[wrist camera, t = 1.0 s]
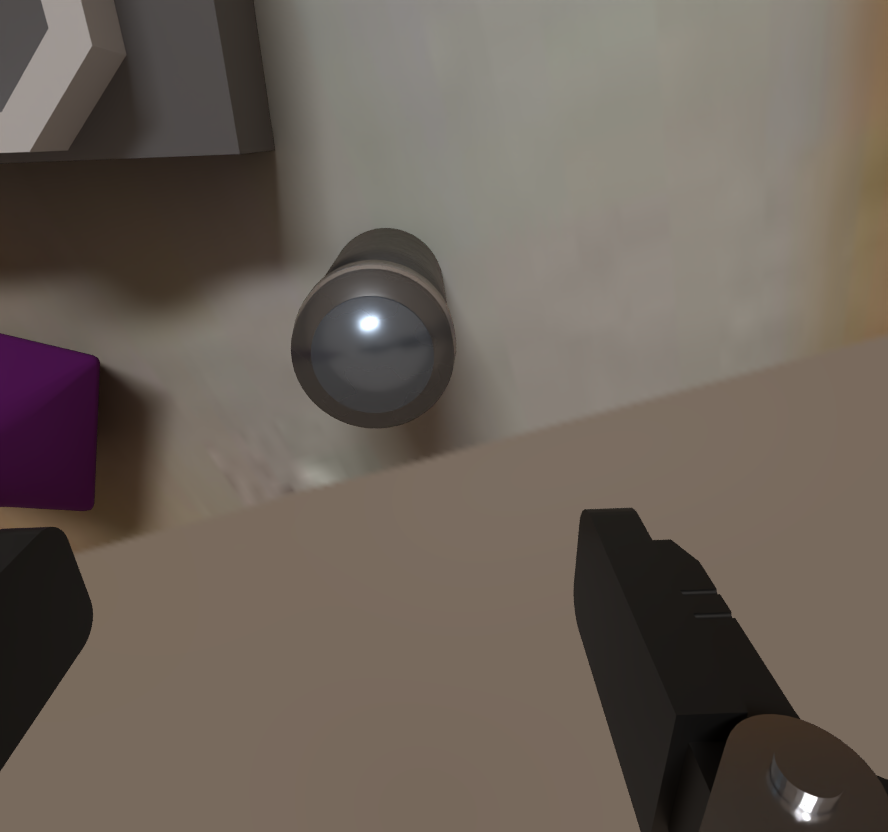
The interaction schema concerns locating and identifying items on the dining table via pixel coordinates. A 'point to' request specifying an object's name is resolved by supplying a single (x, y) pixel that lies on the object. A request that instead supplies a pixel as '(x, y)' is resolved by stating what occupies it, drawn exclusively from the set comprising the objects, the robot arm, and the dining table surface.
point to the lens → (376, 332)
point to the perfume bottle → (47, 425)
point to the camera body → (130, 80)
